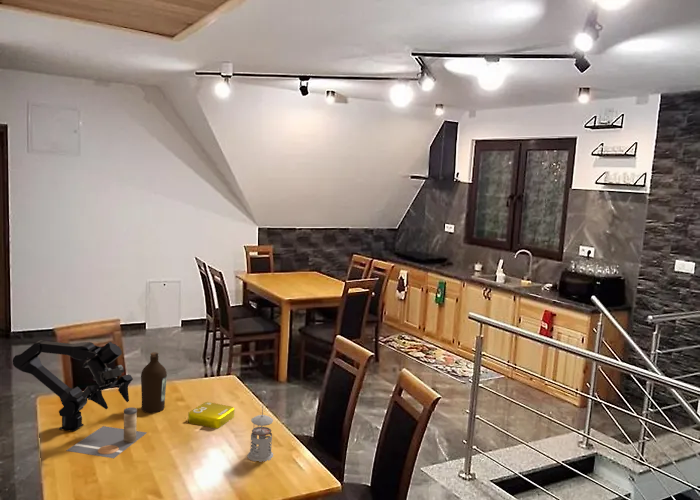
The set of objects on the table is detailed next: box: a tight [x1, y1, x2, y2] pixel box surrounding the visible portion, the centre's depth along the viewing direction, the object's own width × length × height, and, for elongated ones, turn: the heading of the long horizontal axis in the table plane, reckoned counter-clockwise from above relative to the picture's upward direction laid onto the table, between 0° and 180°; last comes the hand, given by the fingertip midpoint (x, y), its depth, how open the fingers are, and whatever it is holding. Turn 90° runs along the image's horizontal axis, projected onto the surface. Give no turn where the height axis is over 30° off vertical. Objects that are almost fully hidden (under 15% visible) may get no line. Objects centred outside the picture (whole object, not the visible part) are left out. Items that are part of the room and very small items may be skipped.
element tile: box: [187, 401, 235, 429], centre depth 242 cm, size 15×15×5 cm
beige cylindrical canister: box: [123, 407, 138, 443], centre depth 214 cm, size 5×5×12 cm
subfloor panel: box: [65, 425, 147, 459], centre depth 213 cm, size 19×22×2 cm
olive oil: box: [140, 351, 168, 414], centre depth 248 cm, size 11×11×25 cm
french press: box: [246, 390, 274, 463], centre depth 212 cm, size 10×12×25 cm
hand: (117, 405), depth 218 cm, fingers open, 9 cm apart
